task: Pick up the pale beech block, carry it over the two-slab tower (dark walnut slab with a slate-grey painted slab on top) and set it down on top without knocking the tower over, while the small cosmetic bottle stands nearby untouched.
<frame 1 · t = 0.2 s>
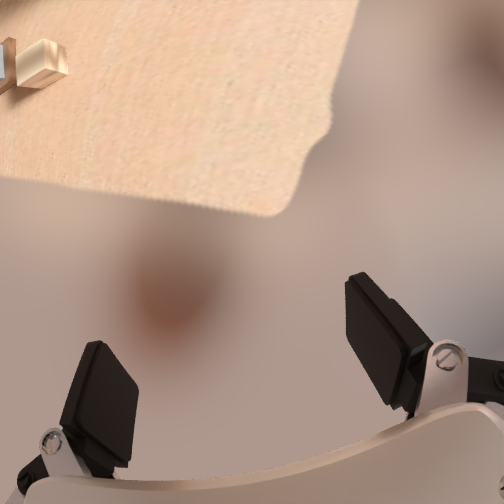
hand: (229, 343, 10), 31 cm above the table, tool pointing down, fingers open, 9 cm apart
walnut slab: (0, 73, 23), on the table, touching grey slab
beech block: (53, 68, 25), on the table
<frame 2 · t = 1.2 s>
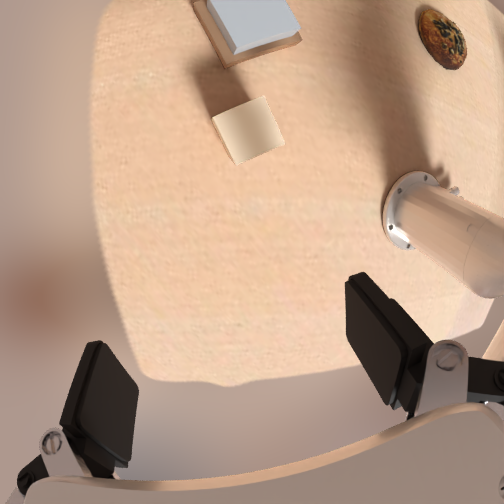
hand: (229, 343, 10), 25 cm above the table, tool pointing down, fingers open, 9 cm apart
grey slab: (250, 19, 22), point 2 cm above the table, touching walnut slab
bread roll: (439, 39, 26), on the table
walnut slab: (244, 26, 24), on the table, touching grey slab
beech block: (240, 129, 30), on the table
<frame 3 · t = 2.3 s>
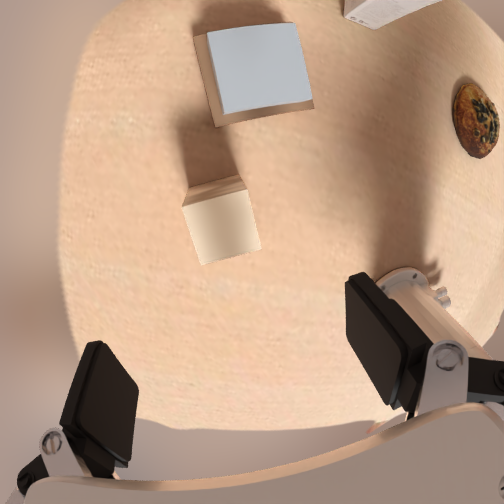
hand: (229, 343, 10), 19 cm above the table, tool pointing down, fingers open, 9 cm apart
grey slab: (255, 70, 20), point 2 cm above the table, touching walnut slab
bread roll: (471, 119, 27), on the table
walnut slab: (250, 75, 23), on the table, touching grey slab
beech block: (220, 204, 27), on the table
skincare box: (358, 4, 19), on the table
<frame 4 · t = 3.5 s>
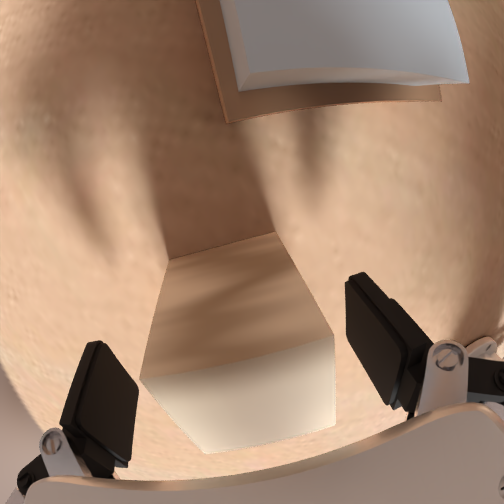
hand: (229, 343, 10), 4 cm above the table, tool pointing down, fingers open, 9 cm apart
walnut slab: (302, 19, 9), on the table
beech block: (235, 291, 14), on the table
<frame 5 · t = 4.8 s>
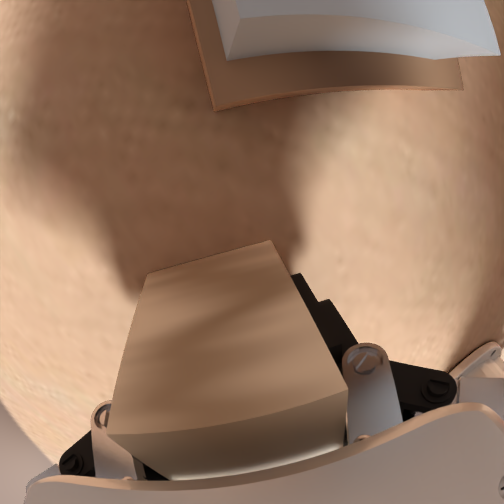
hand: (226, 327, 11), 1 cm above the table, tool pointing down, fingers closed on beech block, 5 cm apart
beech block: (224, 307, 12), on the table, touching gripper
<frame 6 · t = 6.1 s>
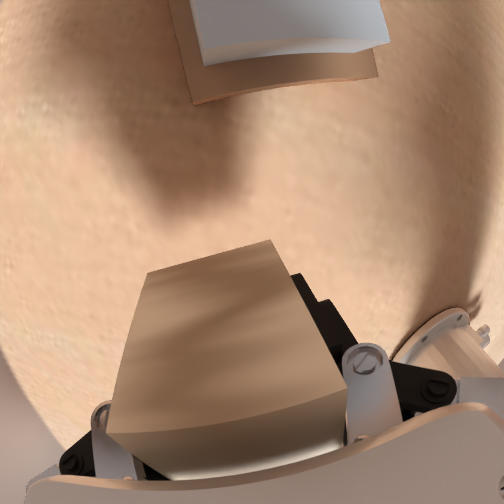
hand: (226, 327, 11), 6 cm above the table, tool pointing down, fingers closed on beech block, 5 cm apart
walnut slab: (259, 17, 11), on the table, touching grey slab
beech block: (224, 307, 12), point 5 cm above the table, touching gripper
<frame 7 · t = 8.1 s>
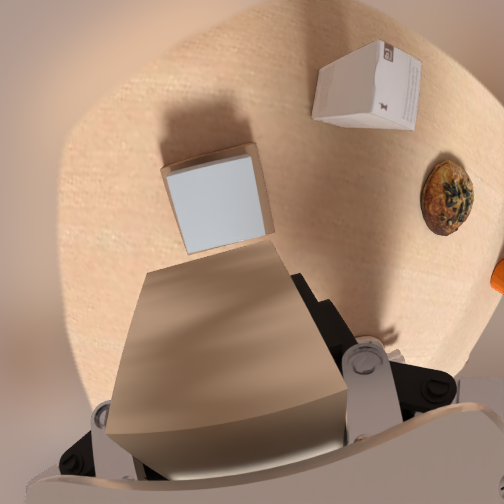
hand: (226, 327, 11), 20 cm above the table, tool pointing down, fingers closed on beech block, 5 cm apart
grey slab: (216, 198, 26), point 2 cm above the table
spray bottle: (495, 280, 43), on the table
bread roll: (443, 196, 33), on the table
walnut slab: (218, 194, 29), on the table
beech block: (224, 307, 12), point 18 cm above the table, touching gripper
skincare box: (330, 96, 25), on the table
when the fingers open (8 cm above the table, at t = 11.0 s): beech block drops 2 cm, resting on grey slab.
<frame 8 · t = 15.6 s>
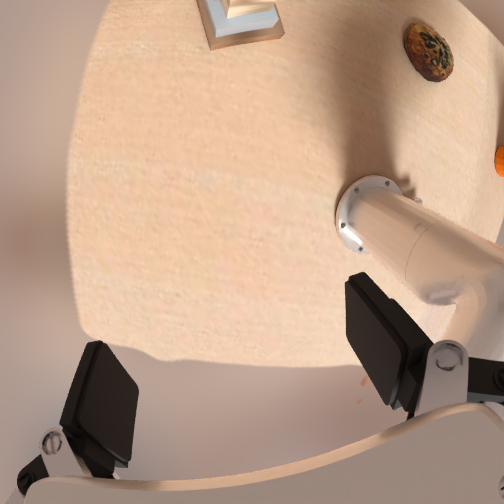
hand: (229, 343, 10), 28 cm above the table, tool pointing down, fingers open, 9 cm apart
grey slab: (237, 9, 23), point 3 cm above the table, touching beech block, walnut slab
spray bottle: (499, 168, 41), on the table
bread roll: (425, 52, 30), on the table
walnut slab: (237, 16, 26), on the table, touching grey slab
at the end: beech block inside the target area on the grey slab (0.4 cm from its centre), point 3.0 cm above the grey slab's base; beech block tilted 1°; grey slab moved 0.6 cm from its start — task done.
